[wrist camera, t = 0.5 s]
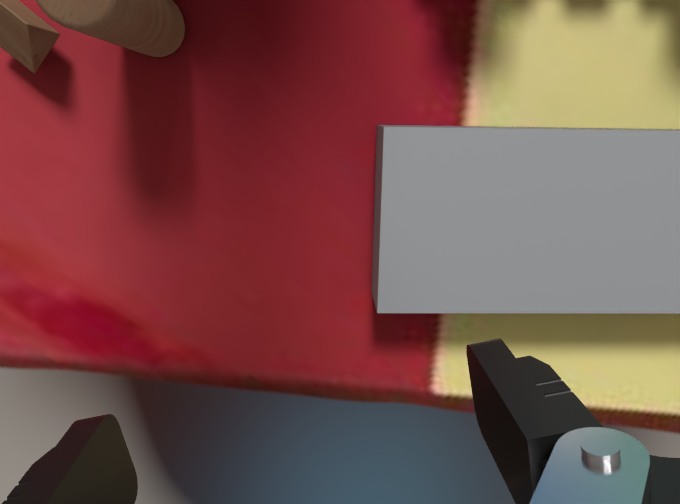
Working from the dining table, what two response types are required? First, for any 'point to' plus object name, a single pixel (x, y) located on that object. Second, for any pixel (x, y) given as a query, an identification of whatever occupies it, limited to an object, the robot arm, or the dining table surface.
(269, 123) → the dining table surface
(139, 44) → the wooden block set
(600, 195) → the dock
